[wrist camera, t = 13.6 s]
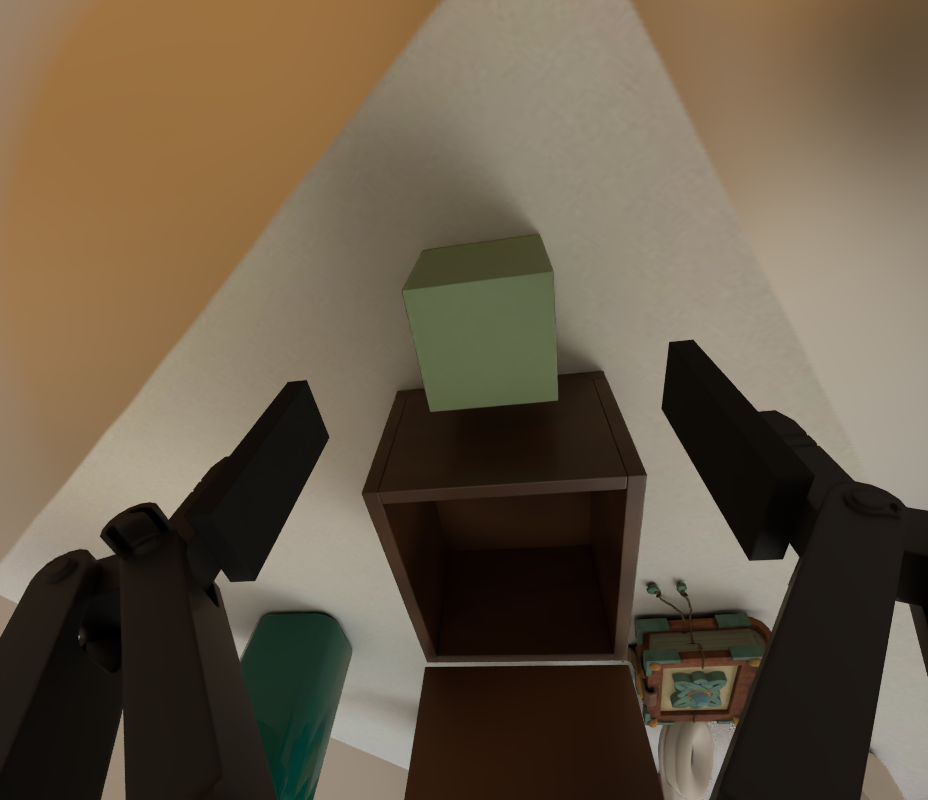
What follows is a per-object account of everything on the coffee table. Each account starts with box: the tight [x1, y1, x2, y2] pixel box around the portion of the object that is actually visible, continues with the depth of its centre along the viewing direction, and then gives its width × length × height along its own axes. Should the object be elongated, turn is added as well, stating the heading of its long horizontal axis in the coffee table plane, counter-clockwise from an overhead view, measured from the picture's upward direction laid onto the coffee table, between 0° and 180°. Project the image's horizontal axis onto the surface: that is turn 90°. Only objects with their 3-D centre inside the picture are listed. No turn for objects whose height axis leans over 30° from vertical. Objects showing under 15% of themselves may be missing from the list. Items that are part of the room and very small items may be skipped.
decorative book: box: [622, 583, 771, 728], centre depth 38 cm, size 13×18×5 cm
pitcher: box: [239, 613, 352, 800], centre depth 35 cm, size 10×8×22 cm
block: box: [402, 234, 558, 412], centre depth 21 cm, size 6×6×6 cm
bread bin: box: [362, 371, 647, 662], centre depth 27 cm, size 16×13×9 cm
